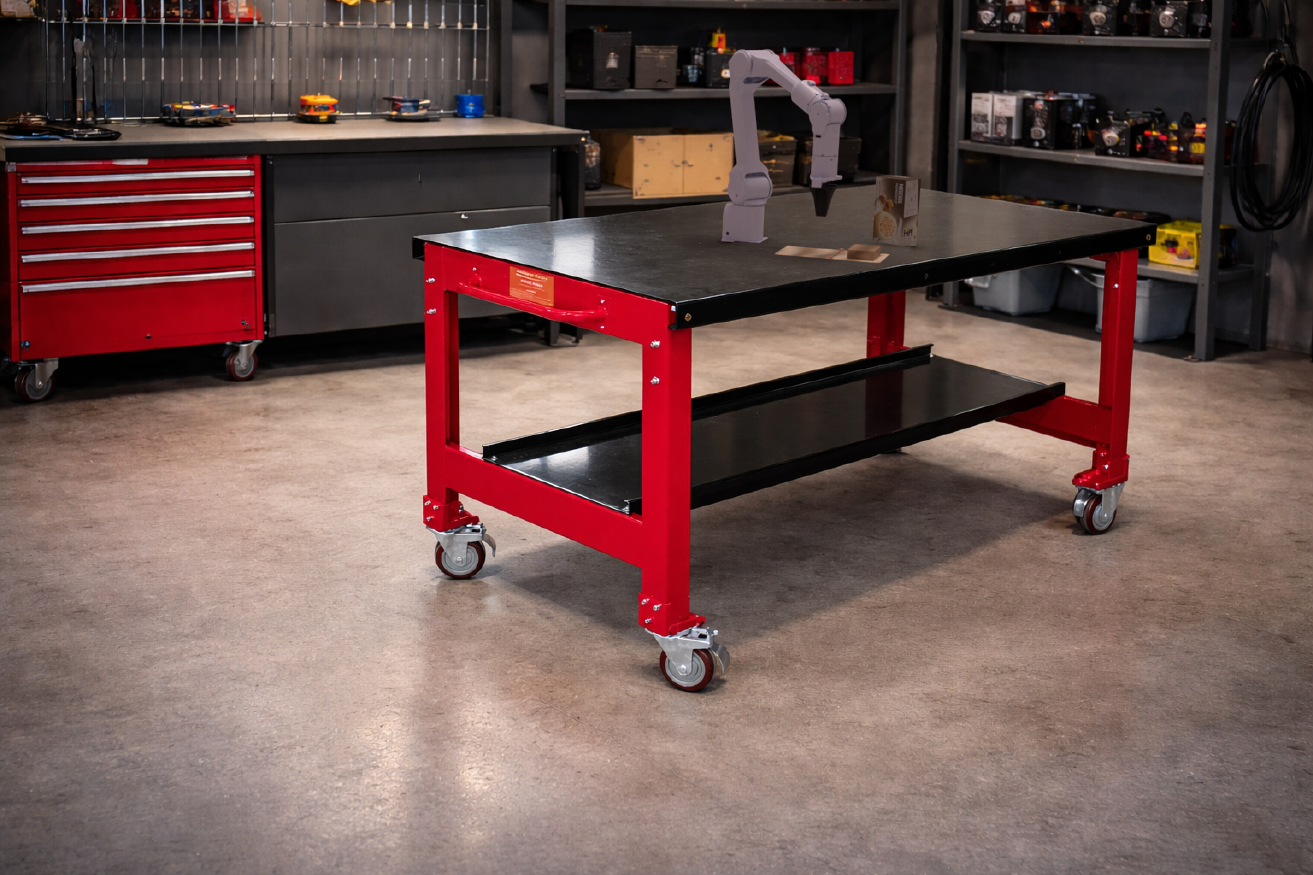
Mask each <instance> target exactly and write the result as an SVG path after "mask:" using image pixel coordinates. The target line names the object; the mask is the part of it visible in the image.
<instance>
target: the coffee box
mask: <svg viewBox="0 0 1313 875" xmlns="http://www.w3.org/2000/svg"><path fill="white" fill-rule="evenodd" d="M921 184H922V178H921V177H920V178H919V177H912V176H904V175H896V174H887V175H886V174H885V175H880V176H876V179H875V194H874V196H875V197H874V208H873V225H872V229H873V230H872V243H873V244H874V243H875V244H884V245H886V244H887V245H893V246H899V247H905V246H906V247H907V246H911V247H916V246H917V238H918V226H919V212H920V210H919V209H920V197H921ZM872 243H871V244H872Z"/></svg>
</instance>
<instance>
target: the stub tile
mask: <svg viewBox="0 0 1313 875" xmlns="http://www.w3.org/2000/svg"><path fill="white" fill-rule="evenodd" d="M881 250H882V246H881V245H869V244H858V243H854V244H853V245H851V246H850V247H848V249H847V250H846V251H847V259H858V260H869V261H874V260H875V259H876V258H877V257H879V256H880V254H882V253H881Z"/></svg>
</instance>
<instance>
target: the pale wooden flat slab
mask: <svg viewBox="0 0 1313 875" xmlns="http://www.w3.org/2000/svg"><path fill="white" fill-rule="evenodd" d="M774 255H780V256H790V257H803V258H814V259H827V260H838V261H839V260H840V261H850V262H863V263H871V264H881V263H882V262H883V261H884V260H885V259H886V258H887V257H888V256H890V254H889V253H881V254H880V256H879V257H877V258H876V259H875V260H874V261H869V260H858V259H847V250H845V249H844V248H839V249H834V248H833V249H832V248H822V247H821V248H819V247H808V246H807V247H805V246H794V245H787V246H784V247H783V248H781V249H780V250H778V251H776V252H775V253H774Z"/></svg>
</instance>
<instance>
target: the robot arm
mask: <svg viewBox="0 0 1313 875" xmlns="http://www.w3.org/2000/svg"><path fill="white" fill-rule="evenodd" d="M728 69H729V78H730V79H729V87H728V88H729V90H728V91H729V99H730V111H731V119H732V120H731V121H732V130H733V131H732V132H733V138H734V150H735V159H736V164H734V166H733V168H732V169H730V170H729V171H728V172H729V173H728V176H729V179H728V180H729V181H728V184H727V194H728V196H729V199H730V200H731V202H726V204H725V205H724V208H723V209H724V210H723V215H722V236H721V237H722V238H721V240H720V241H721V242H729V243H733V242H735V241H736V242H745V243H746V242H747V243H756V244H760V243H762V242H764V241H765V240H767V239H768V237H765V236H764V226H765V225H764V224H765V222H764V220H765V207H766V206H765V205H766V204H768V203H767V202H768V199H769V198H770V197H771V195H772V194H773V183H772V179H771V178H770V175H769V169H768V168H767V166H766V165H765V164H764V163H762V161H760V159H761V158H760V148H759V141H758V138H759V137H758V129H757V120H756V117H757V116H756V109H755V99H754V93H755V92H756V90H757V89H758V88H759V87H760V86H761V85H762V84H763V83H765V82H766V81H768V80H769V79H771V80H772V81H774V82H775V83H776V84H778V85H779V86H781V87H782V88H784V89H785V90H786V91H787V92H789V93H790V94H791V95H790V97H791V98H790V99H791V101H792V102H793V103H794V104H795V105H796V106H798V107H799V108H800V109H801V110H802V111H803V112H805V113H806V114H807V115H808V117H809V122H810V123H811V131H812V134H813V137H812V138H813V141H812V156H811V169H810V170H811V172H810V175H809V178H810V180H811V183H810V184H809V185H808V188H809V191H810V193H811V196H812V198H813V205H814V212H815V216H816V217H821V218H826V217H827V215H828V213H829V210H830V209H829V208H830V205H831V200H832V198H833V196H834V193H835V191H836V189H837V188H838V184H837V183H831V182H833V181H839V180H840V181H841V180H842V179H843V176H842V175H838V162H839V148H840V147H839V146H840V132H841V131H840V130H841V125H843V124H844V122H845V120H846V118H847V112H848V111H847V108H846V106H845V103H844V102H843V101H842V100H841V99H840V98H832V97H830V94H828V93H827V92H823V90H821V89H820V88H819V87H817V86H816V84H817V83H816V82H815V81H814V80H808V79H805V80H801V79H800V78H799V77H798V76H797V75H796V74H794V72H792V71H791V70H790V68H788V66H786V65H785V63H783V62H782V61H781V59H780V55H778V54H776V53H775V52H774V51H773V50H771V49H762V50H761V49H758V50H757V49H756V50H755V49H753V50H751V49H749V50H746V49H739V50H736V51H735V52H734V54H733V55H732V56H731V58H730V59H729V61H728Z"/></svg>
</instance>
